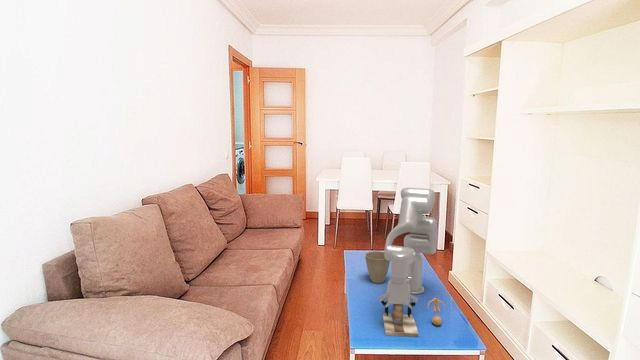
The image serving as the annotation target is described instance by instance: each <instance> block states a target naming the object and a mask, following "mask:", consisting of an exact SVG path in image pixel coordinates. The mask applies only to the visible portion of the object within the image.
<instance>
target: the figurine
mask: <svg viewBox="0 0 640 360" xmlns="http://www.w3.org/2000/svg"><path fill="white" fill-rule="evenodd" d="M432 302H433V306H432V307H433V313H434V316H433V317H432V323H433V324H434V326H440V325H442V319H441V317H440V316H439V313H440V305H439V303H441V304H442V306H443V307H444V309H446V306H445V304H444V302H443V301H442V300H440V299H438V298H436V297H434V298H433V299H432V300H430V301H428V304H427V310H429V309H430V308H429V307H430V303H432ZM436 311H437V312H436ZM436 313H437V315H436Z"/></svg>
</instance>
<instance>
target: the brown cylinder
mask: <svg viewBox="0 0 640 360" xmlns="http://www.w3.org/2000/svg"><path fill="white" fill-rule="evenodd" d="M392 307H393V308H392V314H393V323H394V324H396V325H401V324H403V315H404V305H400V304H392Z"/></svg>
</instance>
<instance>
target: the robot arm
mask: <svg viewBox="0 0 640 360" xmlns="http://www.w3.org/2000/svg"><path fill="white" fill-rule="evenodd" d="M400 198H401V203H400V208H399V214H398V215H399V216H398V222H397V225H396V226H395V227H394V228H392V229H391V230H390V232H389V233H388V234H387V237H386V240H385V244H384V251H383V252H384V257H385V259H386V260H388V261H390V279H389V280H388V282H387V287H386V293H383V294H381V295H379V296H378V299H379V301H380V303H381V304H382V305H383V306H384V314H386V315H387V316H388V314H389V306H390V305H393V304H400V305H403V306H404V305H405V306H406V305H407V309H406V311H407V313H406V315H408V317H410V315H412V309H413V307H415V306H416V304H417V303H418V302H419V298H418V296H414V295H419V294H423V293H424V292H425V288H424V286H423V285H422V283H423V282H422V279H423V258H422V256H421V255H420V254H427V255H434V254H435V253H436V252H437V249H438V248H437V247H438V222H437V220H436V218H434V217H431V216H424V215H430V214H431V212H432V210H433V207H434V204H435V201H436V192H435V191H434V189H431V188H419V187H404V188H402V189H401V190H400ZM406 233H409V234H406ZM403 234H406V235H405V236H404V238H403V246H401V245H394V244H393V242H394V241H395V239H396V238H397V237H398V236H400V235H403ZM385 298H386V301H385V300H384V299H385ZM411 299H412V302H411Z"/></svg>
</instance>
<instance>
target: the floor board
mask: <svg viewBox="0 0 640 360" xmlns="http://www.w3.org/2000/svg"><path fill="white" fill-rule="evenodd" d="M382 319H383V320H382V321H383V328H384V334H385V336H392V337H395V336H396V337H409V338H411V337H413V338H419V335H420V333H419V331H418V327H417V325H416V321H415V319H414V315H413V314H410V317H408V314H403V324H401V325H396V324H394V323H393V313H388V316H387V315H386V313H382Z"/></svg>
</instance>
